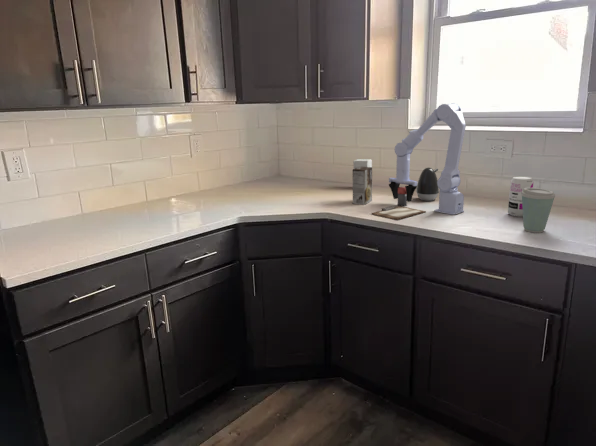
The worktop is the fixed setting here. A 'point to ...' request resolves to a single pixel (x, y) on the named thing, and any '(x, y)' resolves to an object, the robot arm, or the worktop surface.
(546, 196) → the disposable coffee cup
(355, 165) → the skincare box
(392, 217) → the clipboard
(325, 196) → the worktop surface
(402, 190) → the marker
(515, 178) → the supplement can
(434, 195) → the pump dispenser
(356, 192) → the coffee box
